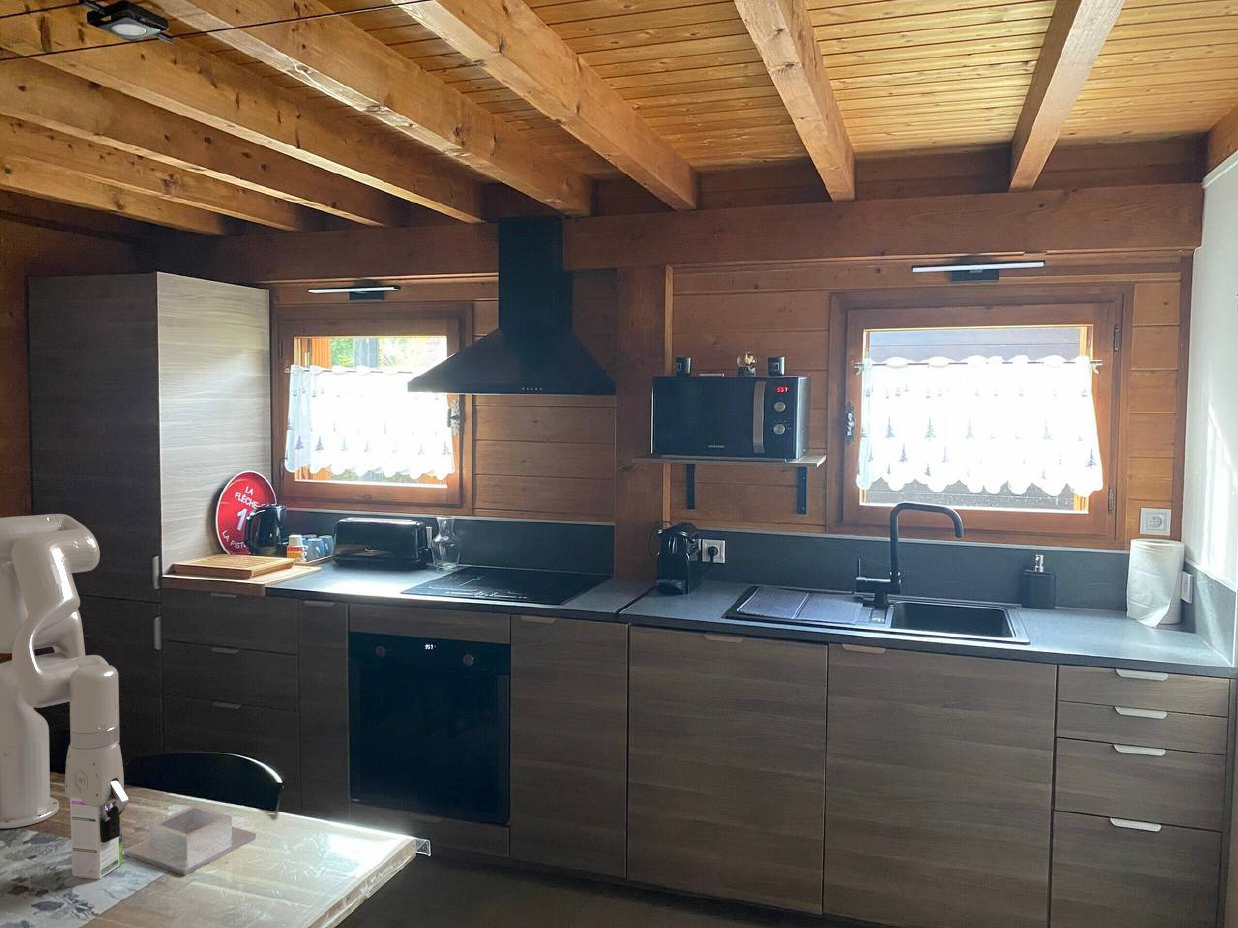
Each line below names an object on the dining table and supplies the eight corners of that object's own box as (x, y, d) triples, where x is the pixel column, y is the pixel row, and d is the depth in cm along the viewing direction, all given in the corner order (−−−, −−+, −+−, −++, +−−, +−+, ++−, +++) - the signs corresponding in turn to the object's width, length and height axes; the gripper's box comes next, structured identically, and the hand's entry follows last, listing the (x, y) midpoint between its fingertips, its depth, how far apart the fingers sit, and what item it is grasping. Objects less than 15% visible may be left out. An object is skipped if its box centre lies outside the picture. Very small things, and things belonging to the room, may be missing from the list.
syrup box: (99, 880, 163) (98, 799, 162) (70, 876, 164) (69, 795, 163) (123, 864, 169) (122, 786, 168) (94, 860, 170) (93, 782, 169)
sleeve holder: (124, 854, 172) (123, 828, 172) (197, 820, 187) (197, 796, 186) (184, 875, 165) (184, 848, 165) (255, 838, 180) (255, 813, 179)
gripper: (43, 734, 165) (45, 832, 167) (107, 752, 158) (109, 855, 159) (83, 721, 172) (85, 815, 173) (147, 738, 164) (148, 836, 166)
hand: (96, 833), depth 166 cm, fingers closed on syrup box, 6 cm apart
